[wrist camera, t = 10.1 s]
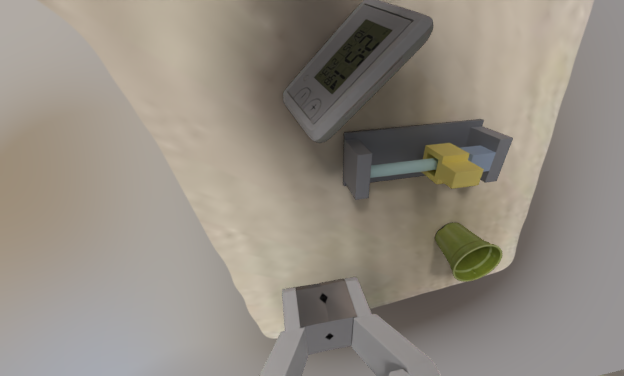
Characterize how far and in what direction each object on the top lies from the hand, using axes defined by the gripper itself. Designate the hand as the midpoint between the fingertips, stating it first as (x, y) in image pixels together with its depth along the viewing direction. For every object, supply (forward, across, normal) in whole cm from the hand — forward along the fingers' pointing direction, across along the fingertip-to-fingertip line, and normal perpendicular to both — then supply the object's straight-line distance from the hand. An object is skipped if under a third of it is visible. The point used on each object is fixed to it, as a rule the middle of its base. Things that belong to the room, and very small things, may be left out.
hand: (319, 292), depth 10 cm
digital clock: (+29, -8, -6) cm, 31 cm away
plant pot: (+29, -33, +28) cm, 52 cm away
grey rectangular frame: (+29, -21, +8) cm, 37 cm away
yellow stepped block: (+26, -23, +8) cm, 36 cm away
